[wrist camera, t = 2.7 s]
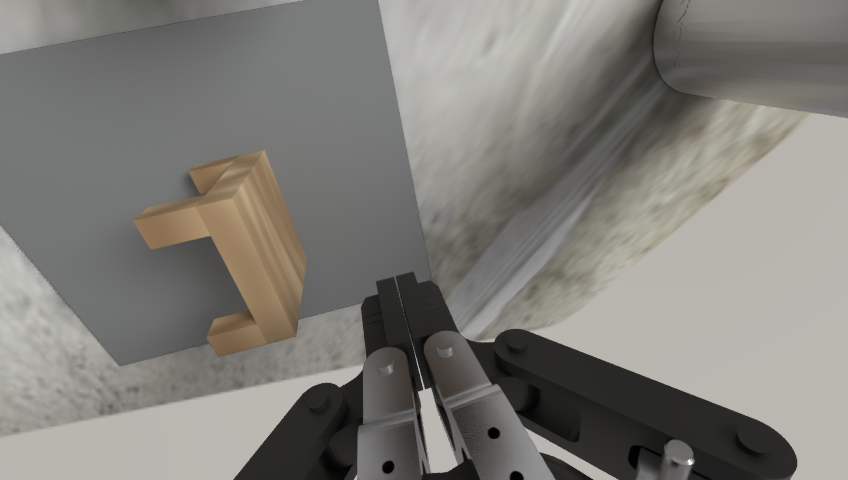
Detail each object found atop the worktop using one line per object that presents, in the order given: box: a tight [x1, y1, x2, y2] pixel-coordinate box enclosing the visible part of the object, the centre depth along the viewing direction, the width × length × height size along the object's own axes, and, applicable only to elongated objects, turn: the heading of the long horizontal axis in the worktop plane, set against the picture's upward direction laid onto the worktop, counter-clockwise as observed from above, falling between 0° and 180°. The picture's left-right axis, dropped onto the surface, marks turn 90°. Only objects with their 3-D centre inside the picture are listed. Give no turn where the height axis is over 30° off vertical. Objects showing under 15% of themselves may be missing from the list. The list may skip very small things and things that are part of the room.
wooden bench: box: [133, 150, 307, 357], centre depth 21 cm, size 4×8×8 cm, turn 9°
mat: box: [0, 0, 432, 366], centre depth 24 cm, size 24×20×1 cm
